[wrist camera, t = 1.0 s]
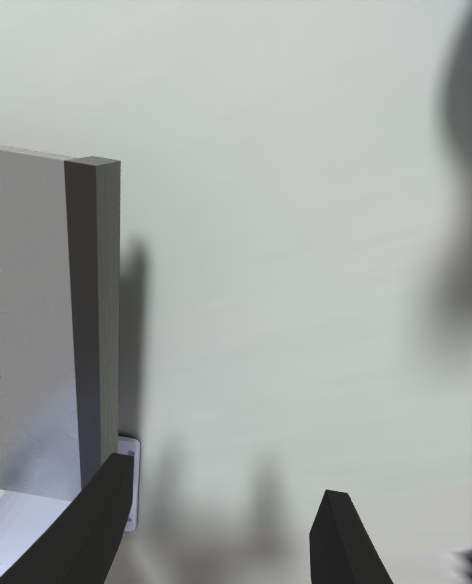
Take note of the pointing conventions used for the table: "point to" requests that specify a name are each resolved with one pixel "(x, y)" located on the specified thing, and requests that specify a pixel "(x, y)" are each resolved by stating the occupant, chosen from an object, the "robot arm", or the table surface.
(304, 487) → the table surface
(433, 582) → the table surface
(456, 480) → the table surface
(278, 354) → the table surface
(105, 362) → the cooker lid
